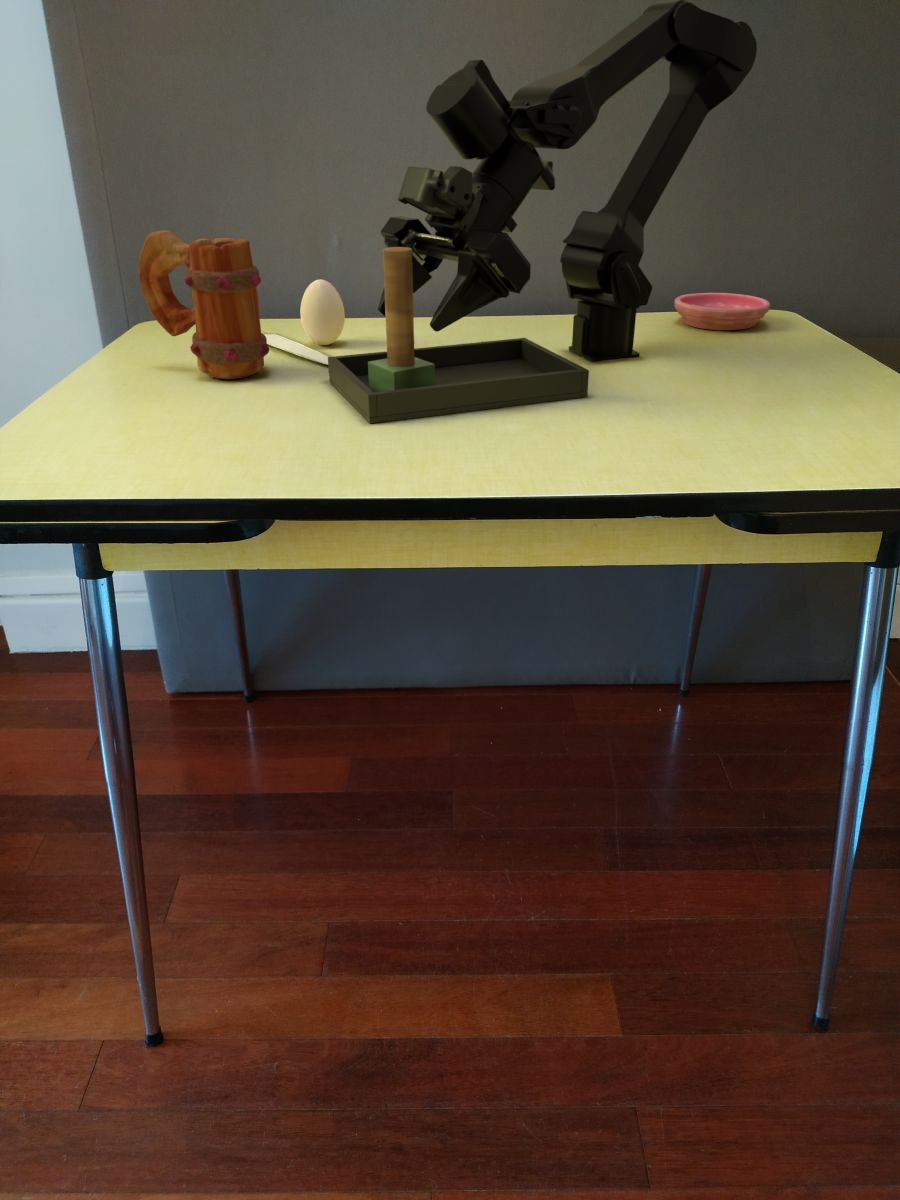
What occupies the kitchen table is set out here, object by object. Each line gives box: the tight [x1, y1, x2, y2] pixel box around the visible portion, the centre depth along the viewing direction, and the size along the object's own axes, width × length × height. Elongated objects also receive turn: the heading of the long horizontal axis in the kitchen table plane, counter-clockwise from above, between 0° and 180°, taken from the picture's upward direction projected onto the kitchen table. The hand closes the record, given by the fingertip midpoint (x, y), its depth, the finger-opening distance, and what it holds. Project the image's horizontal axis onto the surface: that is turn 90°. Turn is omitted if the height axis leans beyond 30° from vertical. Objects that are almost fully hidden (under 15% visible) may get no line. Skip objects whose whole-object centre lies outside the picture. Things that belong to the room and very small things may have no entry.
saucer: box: [674, 292, 771, 331], centre depth 124 cm, size 12×12×3 cm
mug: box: [137, 229, 270, 380], centre depth 100 cm, size 15×8×15 cm, turn 71°
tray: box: [327, 337, 590, 424], centre depth 97 cm, size 24×16×3 cm, turn 111°
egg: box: [299, 279, 346, 346], centre depth 113 cm, size 6×6×8 cm
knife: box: [261, 330, 329, 366], centre depth 116 cm, size 1×34×5 cm
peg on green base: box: [368, 247, 435, 392], centre depth 91 cm, size 5×5×14 cm
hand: (406, 320), depth 92 cm, fingers open, 9 cm apart
